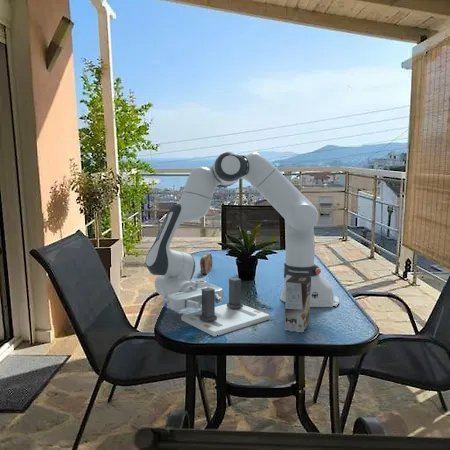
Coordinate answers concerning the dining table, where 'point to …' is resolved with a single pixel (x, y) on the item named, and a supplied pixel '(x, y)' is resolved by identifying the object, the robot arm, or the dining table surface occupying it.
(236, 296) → the post
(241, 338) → the dining table surface
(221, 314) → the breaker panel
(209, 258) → the tin
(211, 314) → the post
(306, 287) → the coffee box
